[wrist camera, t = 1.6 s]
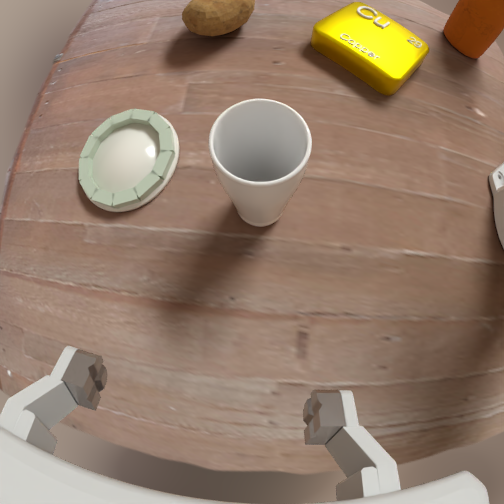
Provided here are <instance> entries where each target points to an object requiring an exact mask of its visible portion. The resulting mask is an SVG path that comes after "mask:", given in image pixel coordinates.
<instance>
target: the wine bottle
mask: <svg viewBox="0 0 504 504" xmlns="http://www.w3.org/2000/svg"><path fill="white" fill-rule="evenodd" d="M503 28H504V0H459V2H458V3H457V5H456V7H455V8H454V10H453V12H452V14H451V15H450V17H449V19H448V21H447V23H446V25H445V27H444V34H445V36H446V38H447V39H448V41H449V42H450V43H451V44H452V45H453V46H454V47H455V48H456V49H457V50H458V51H460V52H461V53H462V54H464V55H466V56H468V57H470V58H479V57H480V56H481V55H482V54H483V53H484V52H485V51H486V50H487V49H488V48H489V46H490V45H491V44H492V43H493V42H494V41H495V39H496V38H497V37H498V36H499V34H500V33H501V31H502V30H503Z"/></svg>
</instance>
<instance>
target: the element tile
mask: <svg viewBox="0 0 504 504" xmlns="http://www.w3.org/2000/svg"><path fill="white" fill-rule="evenodd" d="M311 46H312V47H313V48H314V49H315V50H316V51H318V52H319V53H321V54H323V55H324V56H326V57H328V58H329V59H331V60H333V61H334V62H336V63H337V64H339V65H340V66H342V67H343V68H345V69H346V70H348V71H349V72H351V73H352V74H354V75H355V76H357V77H358V78H360V79H361V80H362V81H364V82H365V83H367V84H368V85H369V86H371V87H372V88H373V89H375V90H376V91H378V92H379V93H382V94H384V95H393V94H394V93H395V92H396V91H397V90H398V89H399V88H400V87H401V86H402V85H403V84H404V83H405V81H406V80H407V79H408V78H409V77H410V76H411V75H412V74H413V73H414V72H415V70H416V69H417V68H418V67H419V66H420V65H421V63H422V62H423V60H424V59H425V57H426V56H427V54H428V53H429V47H428V45H427V44H426V43H425V42H424V41H423V40H421V39H420V38H419V37H417V36H416V35H414V34H413V33H412V32H410V31H409V30H407V29H406V28H404V27H403V26H401V25H400V24H398V23H397V22H395V21H393V20H392V19H390V18H389V17H387V16H385V15H384V14H382V13H380V12H379V11H377V10H375V9H373V8H372V7H370V6H368V5H366V4H364V3H361V2H353V3H351V4H349V5H347V6H345V7H343V8H341V9H340V10H338V11H336V12H334V13H332V14H331V15H329V16H327V17H325V18H324V19H322V20H320V21H318V22H317V23H316V24H315V25H314V27H313V32H312V38H311Z"/></svg>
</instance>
